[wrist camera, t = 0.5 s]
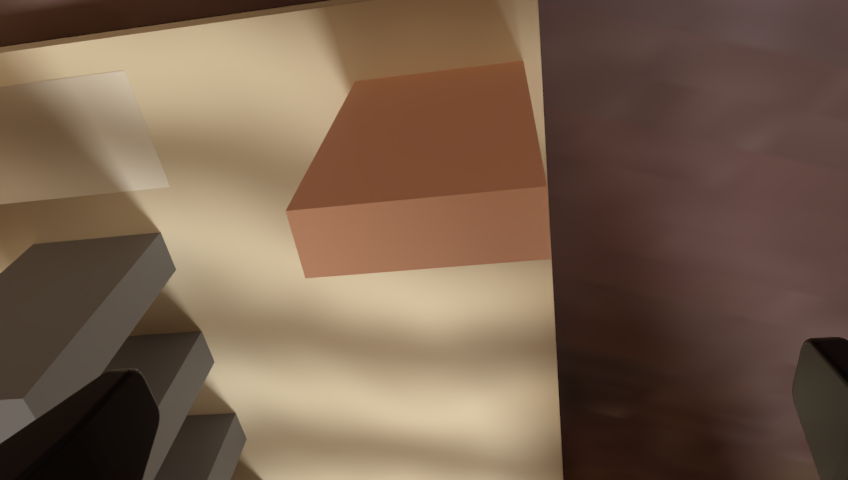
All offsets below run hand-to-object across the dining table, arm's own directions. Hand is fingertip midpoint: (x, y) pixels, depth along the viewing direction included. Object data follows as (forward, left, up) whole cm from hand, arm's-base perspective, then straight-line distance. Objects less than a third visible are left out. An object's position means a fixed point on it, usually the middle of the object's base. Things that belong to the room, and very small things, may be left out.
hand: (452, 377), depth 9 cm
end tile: (0, +1, -12) cm, 12 cm away
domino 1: (-5, +14, -12) cm, 19 cm away
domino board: (-9, +9, -13) cm, 18 cm away
